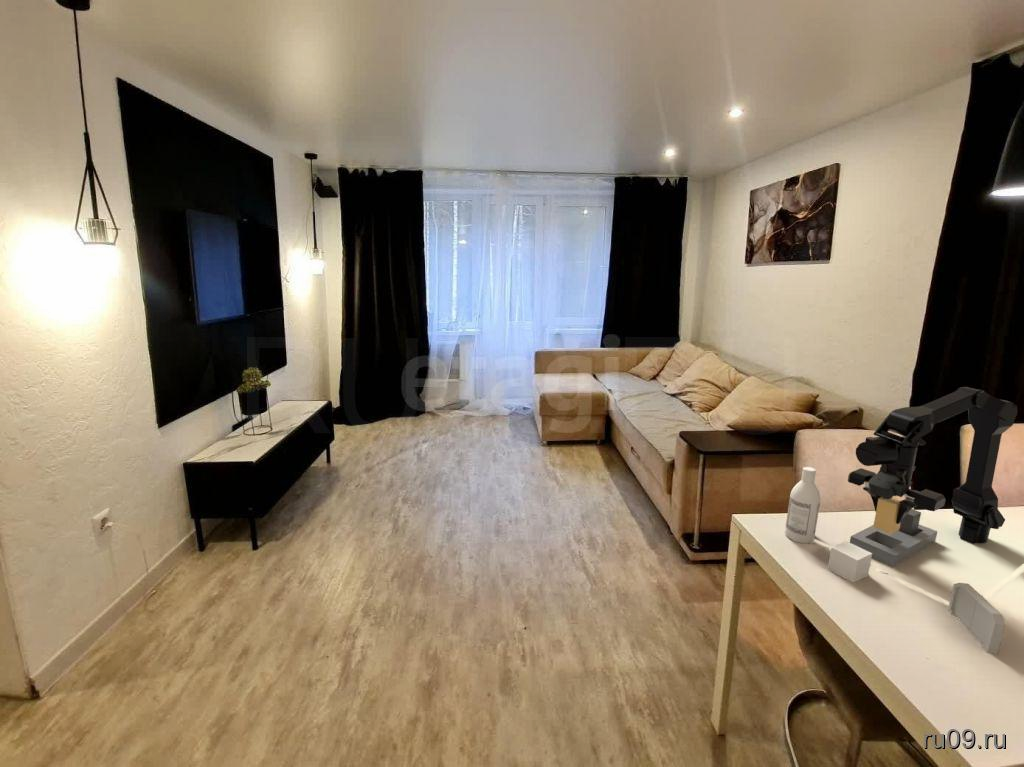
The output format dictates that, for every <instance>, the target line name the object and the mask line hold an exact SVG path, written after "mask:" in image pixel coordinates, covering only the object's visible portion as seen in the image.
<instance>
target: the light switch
mask: <svg viewBox="0 0 1024 767" xmlns="http://www.w3.org/2000/svg"><path fill="white" fill-rule="evenodd" d="M951 591H952V592H951V595H950V600H949V604H948V608H947V612H948V613H949V614H951V615H952V614H954V615H953V616H955V617H956V618H957V617H958V618H957V619H958V620H959V619H960V620H961V621H962V622H961V621H960V620H959V621H960V622H961V623H962V624H963V626H966V627H967V628H968V629H969V630H968V629H967V628H966V627H965V628H966V629H967V630H968V631H969V632H970V633H971V634H972V636H974V637H975V638H976V639H977V640H978V641H979V643H980V644H982V648H983V649H984V650H985V652H986V653H989V654H997V655H998V654H999V649H1000V646H1001V642H1002V640H1003V636H1004V632H1005V628H1006V622H1005V619H1004V617H1003V614H1002V613H1001V612H1000V611H999V610H998V609H996V608H995V607H994V606H993V605H992V604H991V603H990V602H989V601H988V600H987V599H986V598H985V596H983V595H981V594H980V593H979V592H978V591H977V590H976V589H975V588H974V587H973V586H972V585H971V584H969V583H966V582H965V583H964V582H957V583H954V584H953V586H952V590H951Z"/></svg>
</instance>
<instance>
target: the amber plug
mask: <svg viewBox="0 0 1024 767" xmlns="http://www.w3.org/2000/svg"><path fill="white" fill-rule="evenodd" d="M902 500H903V499H901V498H897V497H896V496H893V497H892V498H891V499H884V498H882V497H880V498H879V499H878V504H877V509H876V512H875V515H874V516H875V517H874V521H873V524H872V525H873V527H874V528H877V529H879V530H882V531H884V532H886V533H889V534H893V533H895V532H897V531H898V530H899V529H900V524H901V522H900V523H899V524H897V523H896V520H897V515H898V512H899V509H900V501H902Z"/></svg>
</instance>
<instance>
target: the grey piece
mask: <svg viewBox="0 0 1024 767" xmlns="http://www.w3.org/2000/svg"><path fill="white" fill-rule="evenodd" d="M873 525H874V524H872V525H870V526H868V527H867V528H864V529H863V530H860V531H859V532H856V533H855V534H852V535H851V536H850V539H849V543H851V544H853V545H855V546H858V547H860V548H862V549H864V550H866V551H868V552H870V553H872V558H873V559H875V560H876V561H877V560H878V561H879V562H882V563H884V564H886V565H888V566H891V567H895V566H897V565H899V564H900V563H902V562H904V561H905V560H907V559H910V557H912V556H914V555H916V554H917V553H919V552H920V551H922V550H924V549H926V548H927V547H929V546H931V545H932V544H934V543H935V542H936V541H937V536H938V531H937V530H936V529H932V528H930V527H927V526H925V525H922V524H920V523H919V525H918V530H917V535H915V536H910V535H908V534H905V533H903V532H900V531H897V532H895V533H893V534H889V533H886V532H884V531H882V530H879V529H877V528H874V527H873Z"/></svg>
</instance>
